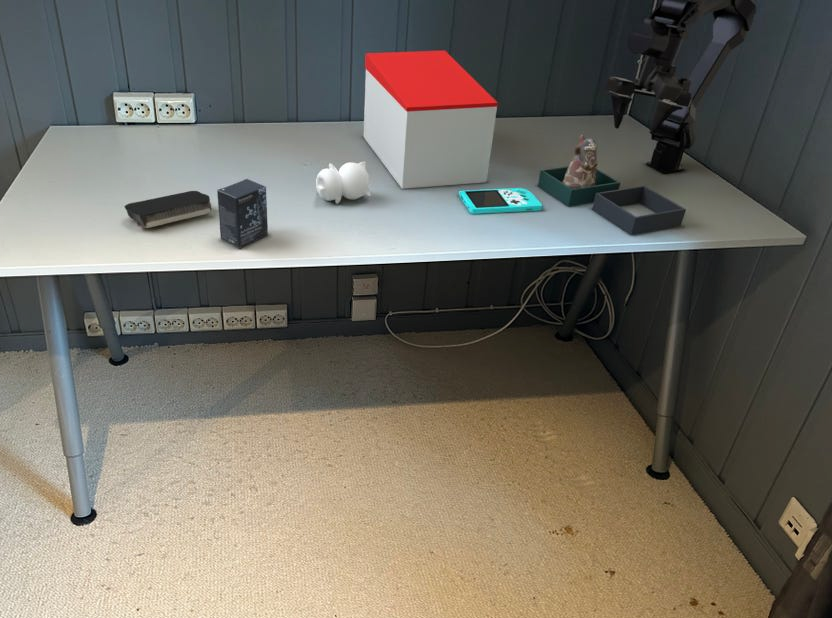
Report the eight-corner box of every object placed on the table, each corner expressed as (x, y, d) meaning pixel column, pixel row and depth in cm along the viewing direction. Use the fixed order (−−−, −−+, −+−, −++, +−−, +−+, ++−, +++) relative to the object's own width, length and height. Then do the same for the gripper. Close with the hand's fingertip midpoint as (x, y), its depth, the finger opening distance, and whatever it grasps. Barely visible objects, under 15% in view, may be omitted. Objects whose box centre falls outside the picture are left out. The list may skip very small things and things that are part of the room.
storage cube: (436, 131, 197) (444, 50, 185) (486, 182, 170) (499, 90, 158) (362, 136, 193) (365, 53, 181) (401, 188, 166) (407, 94, 153)
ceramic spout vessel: (572, 198, 163) (583, 145, 156) (555, 185, 168) (565, 134, 161) (599, 194, 165) (612, 142, 158) (582, 182, 170) (593, 131, 163)
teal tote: (584, 178, 173) (587, 163, 171) (616, 198, 164) (620, 182, 162) (537, 185, 169) (540, 170, 167) (568, 206, 160) (571, 190, 158)
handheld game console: (542, 210, 158) (543, 205, 157) (471, 214, 156) (471, 208, 155) (526, 192, 166) (527, 186, 165) (458, 195, 164) (458, 189, 163)
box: (239, 249, 141) (236, 197, 134) (220, 240, 143) (215, 189, 137) (269, 235, 145) (266, 185, 139) (249, 227, 148) (246, 177, 142)
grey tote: (639, 201, 163) (644, 185, 161) (680, 225, 154) (686, 209, 151) (591, 209, 159) (595, 193, 157) (630, 235, 149) (635, 218, 147)
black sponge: (139, 234, 145) (137, 217, 142) (125, 218, 150) (122, 201, 148) (215, 216, 152) (214, 200, 150) (199, 201, 158) (197, 185, 156)
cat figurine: (315, 161, 153) (370, 154, 155) (305, 171, 163) (357, 164, 166) (323, 203, 153) (377, 195, 156) (313, 211, 164) (363, 203, 167)
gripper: (643, 56, 148) (615, 134, 155) (720, 72, 153) (689, 146, 160) (616, 48, 157) (591, 121, 165) (689, 63, 162) (661, 133, 170)
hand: (634, 131), depth 165 cm, fingers open, 9 cm apart
